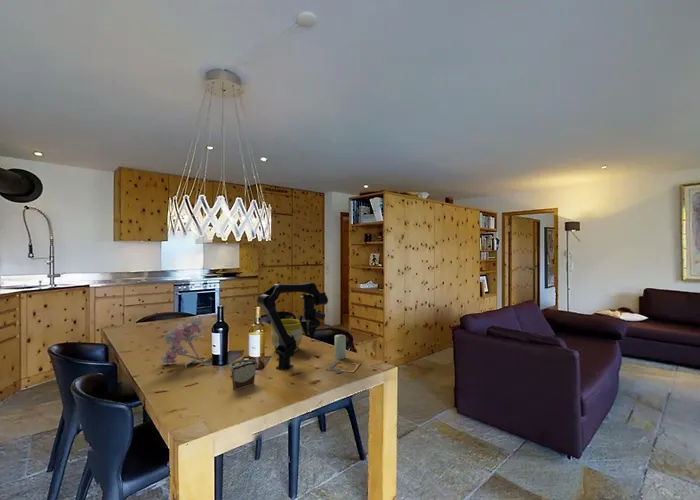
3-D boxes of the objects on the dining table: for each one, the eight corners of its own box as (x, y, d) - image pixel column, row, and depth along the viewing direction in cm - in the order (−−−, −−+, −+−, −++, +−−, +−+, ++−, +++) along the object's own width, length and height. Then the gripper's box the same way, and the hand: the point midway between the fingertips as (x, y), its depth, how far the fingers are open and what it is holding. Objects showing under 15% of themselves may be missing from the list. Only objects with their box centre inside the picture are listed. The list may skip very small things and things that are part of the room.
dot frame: (354, 373, 168) (354, 372, 168) (326, 370, 172) (326, 369, 172) (361, 364, 182) (361, 363, 182) (334, 361, 185) (334, 360, 185)
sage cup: (346, 359, 188) (346, 336, 188) (335, 360, 187) (335, 337, 187) (344, 356, 194) (344, 333, 194) (333, 357, 193) (333, 334, 193)
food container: (248, 379, 159) (248, 357, 159) (257, 382, 155) (257, 359, 155) (223, 387, 150) (223, 363, 150) (231, 391, 146) (232, 367, 146)
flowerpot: (264, 352, 202) (264, 323, 202) (283, 344, 218) (283, 317, 218) (290, 356, 194) (290, 326, 194) (308, 348, 210) (308, 320, 210)
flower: (194, 350, 198) (173, 313, 190) (221, 352, 186) (200, 312, 178) (164, 376, 182) (140, 336, 174) (191, 380, 170) (167, 338, 162)
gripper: (330, 308, 180) (330, 339, 180) (317, 303, 197) (317, 331, 197) (309, 309, 175) (308, 341, 175) (298, 304, 192) (298, 333, 192)
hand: (308, 336), depth 185 cm, fingers open, 9 cm apart
